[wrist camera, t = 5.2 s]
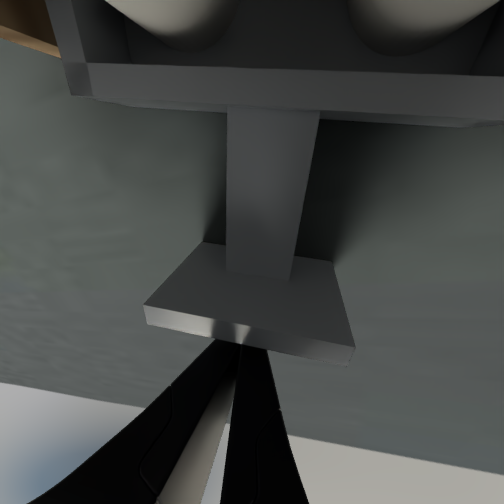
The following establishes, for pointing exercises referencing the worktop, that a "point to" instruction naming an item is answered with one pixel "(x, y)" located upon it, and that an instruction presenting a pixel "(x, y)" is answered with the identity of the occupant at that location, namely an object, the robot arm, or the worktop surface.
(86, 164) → the worktop surface
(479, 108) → the tray
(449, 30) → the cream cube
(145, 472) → the robot arm
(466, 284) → the worktop surface
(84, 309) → the worktop surface
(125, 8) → the cream rounded block
